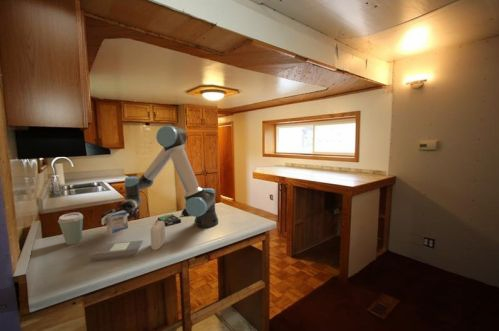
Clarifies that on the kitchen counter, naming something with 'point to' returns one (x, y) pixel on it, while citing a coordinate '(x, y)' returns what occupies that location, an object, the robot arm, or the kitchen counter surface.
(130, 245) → the dock
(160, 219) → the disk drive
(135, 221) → the kitchen counter surface
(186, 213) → the gun
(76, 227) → the disposable coffee cup
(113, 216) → the medicine box
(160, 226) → the photo printer
